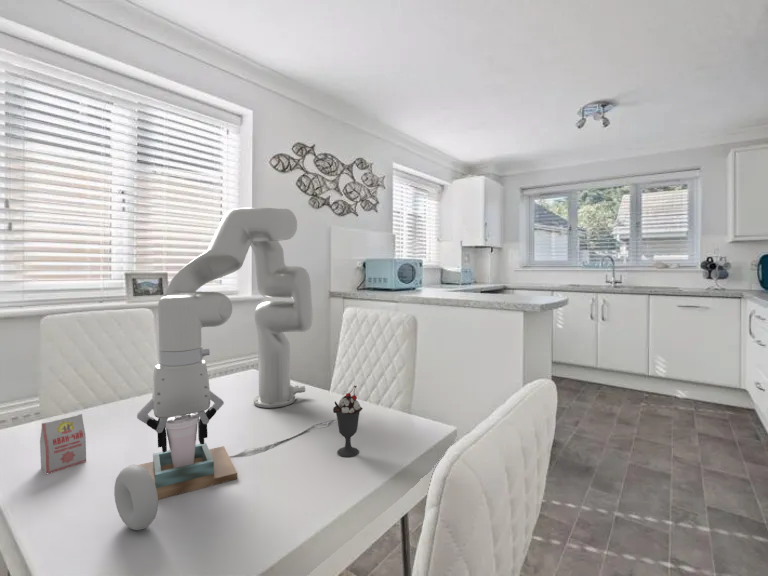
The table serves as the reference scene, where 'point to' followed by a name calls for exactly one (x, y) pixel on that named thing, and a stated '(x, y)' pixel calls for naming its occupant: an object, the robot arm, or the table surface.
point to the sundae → (347, 422)
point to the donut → (136, 497)
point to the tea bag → (62, 443)
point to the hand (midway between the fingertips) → (183, 444)
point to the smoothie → (182, 438)
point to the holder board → (190, 471)
